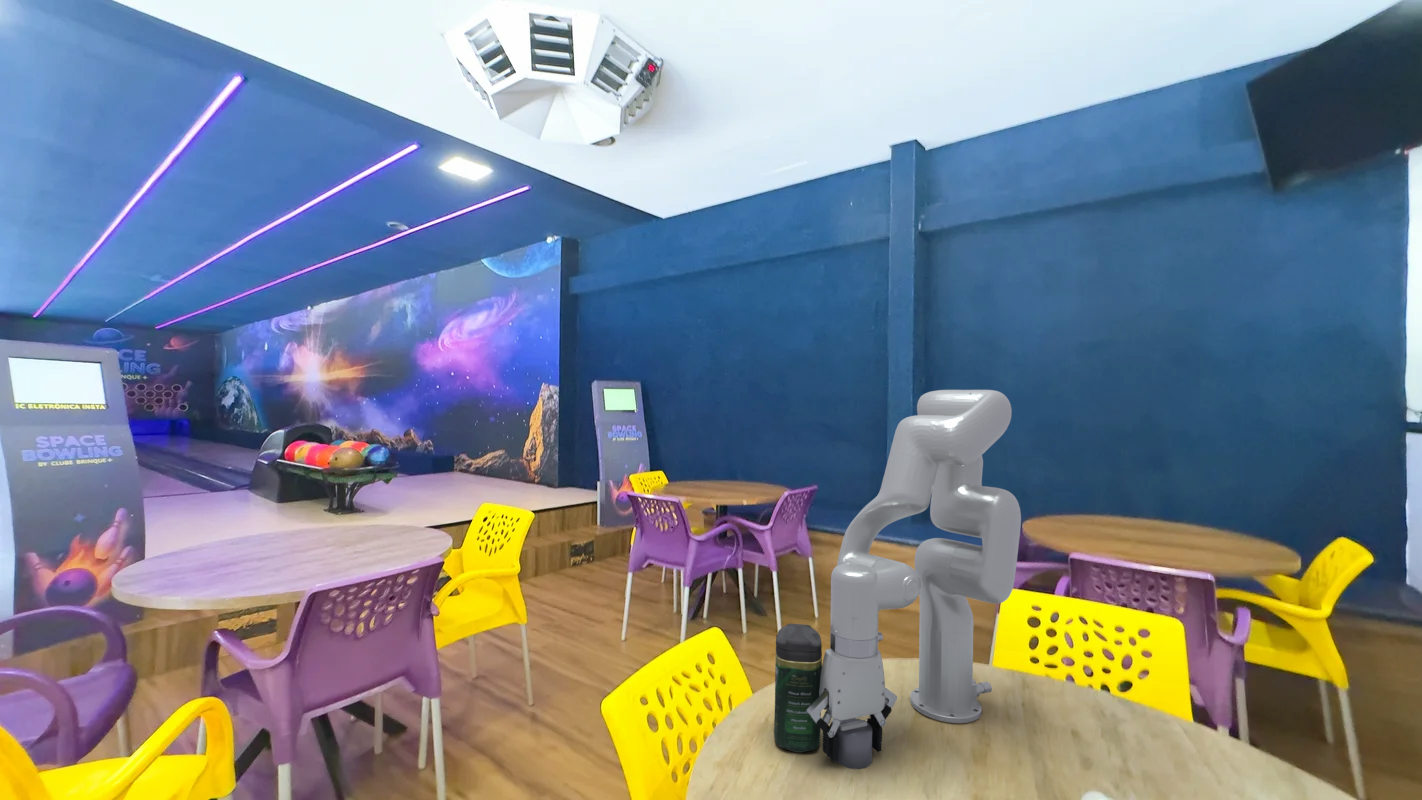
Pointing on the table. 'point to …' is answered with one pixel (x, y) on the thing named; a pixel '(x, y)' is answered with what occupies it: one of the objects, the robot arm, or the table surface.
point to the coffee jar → (797, 687)
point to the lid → (854, 743)
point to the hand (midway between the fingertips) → (852, 751)
